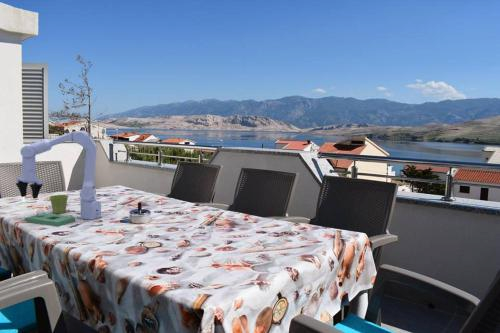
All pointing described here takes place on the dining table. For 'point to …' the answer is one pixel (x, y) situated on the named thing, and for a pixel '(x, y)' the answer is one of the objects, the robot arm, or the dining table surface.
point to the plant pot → (59, 203)
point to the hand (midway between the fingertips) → (29, 197)
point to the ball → (40, 212)
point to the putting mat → (50, 219)
